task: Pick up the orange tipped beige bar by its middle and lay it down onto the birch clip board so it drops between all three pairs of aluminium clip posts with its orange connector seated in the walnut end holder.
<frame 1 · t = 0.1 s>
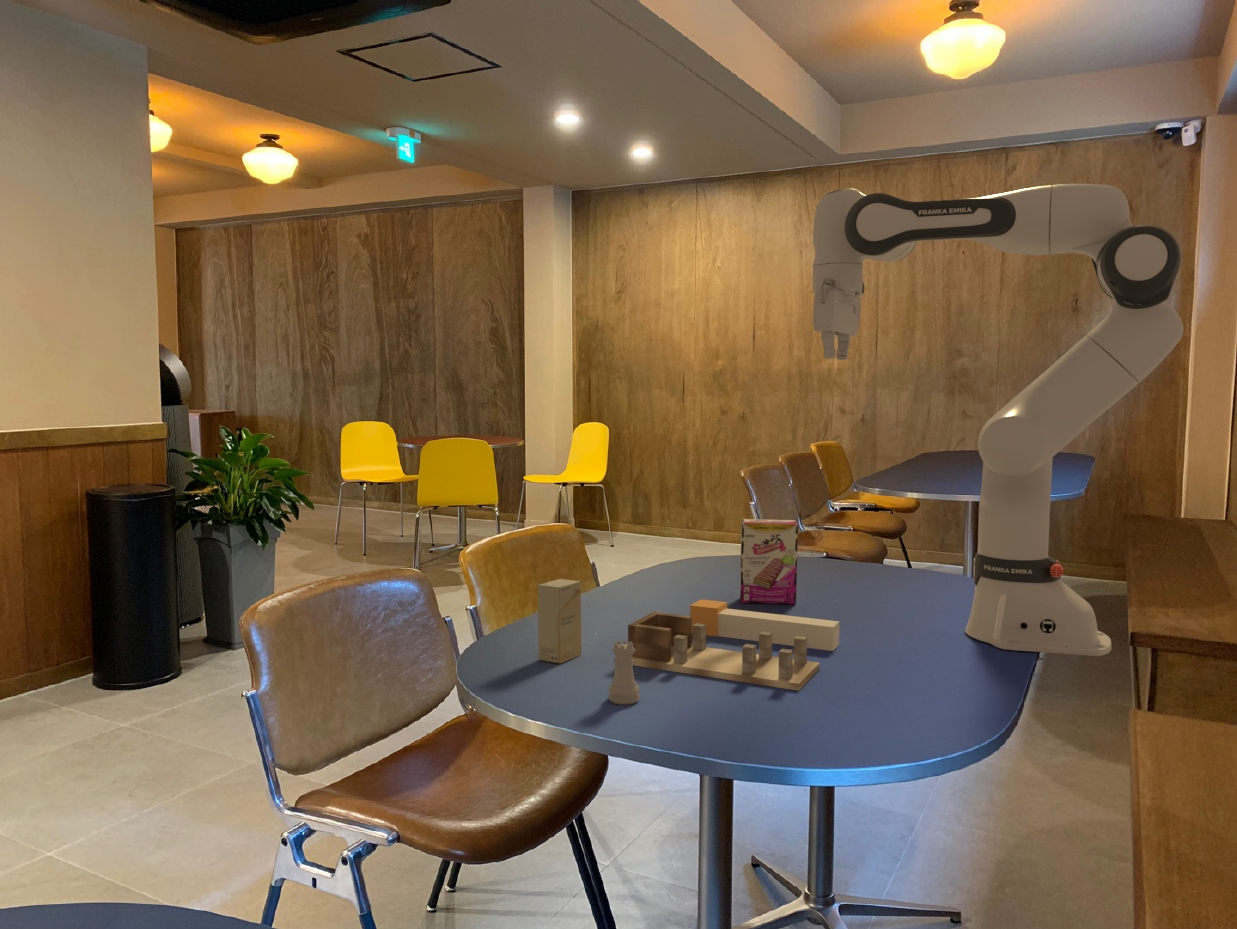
hand: (836, 359, 165), 48 cm above the table, tool pointing down, fingers open, 8 cm apart
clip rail: (741, 669, 138), on the table
skincare box: (560, 658, 144), on the table
orange tipped beige bar: (777, 640, 154), on the table
candy bar box: (768, 602, 181), on the table
rook chess piece: (623, 701, 125), on the table
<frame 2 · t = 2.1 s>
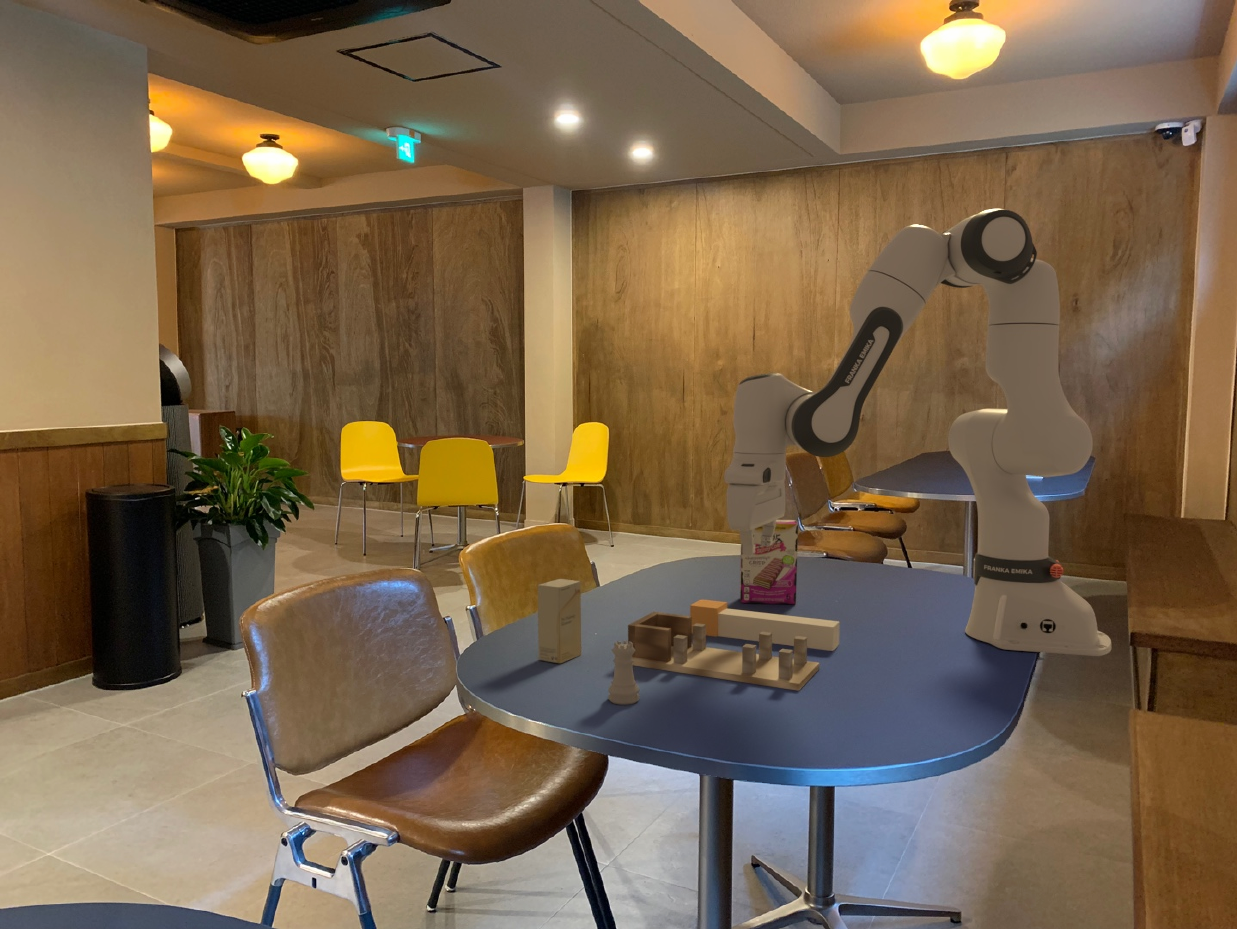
hand: (757, 550, 154), 15 cm above the table, tool pointing down, fingers open, 8 cm apart
nothing on the table moved.
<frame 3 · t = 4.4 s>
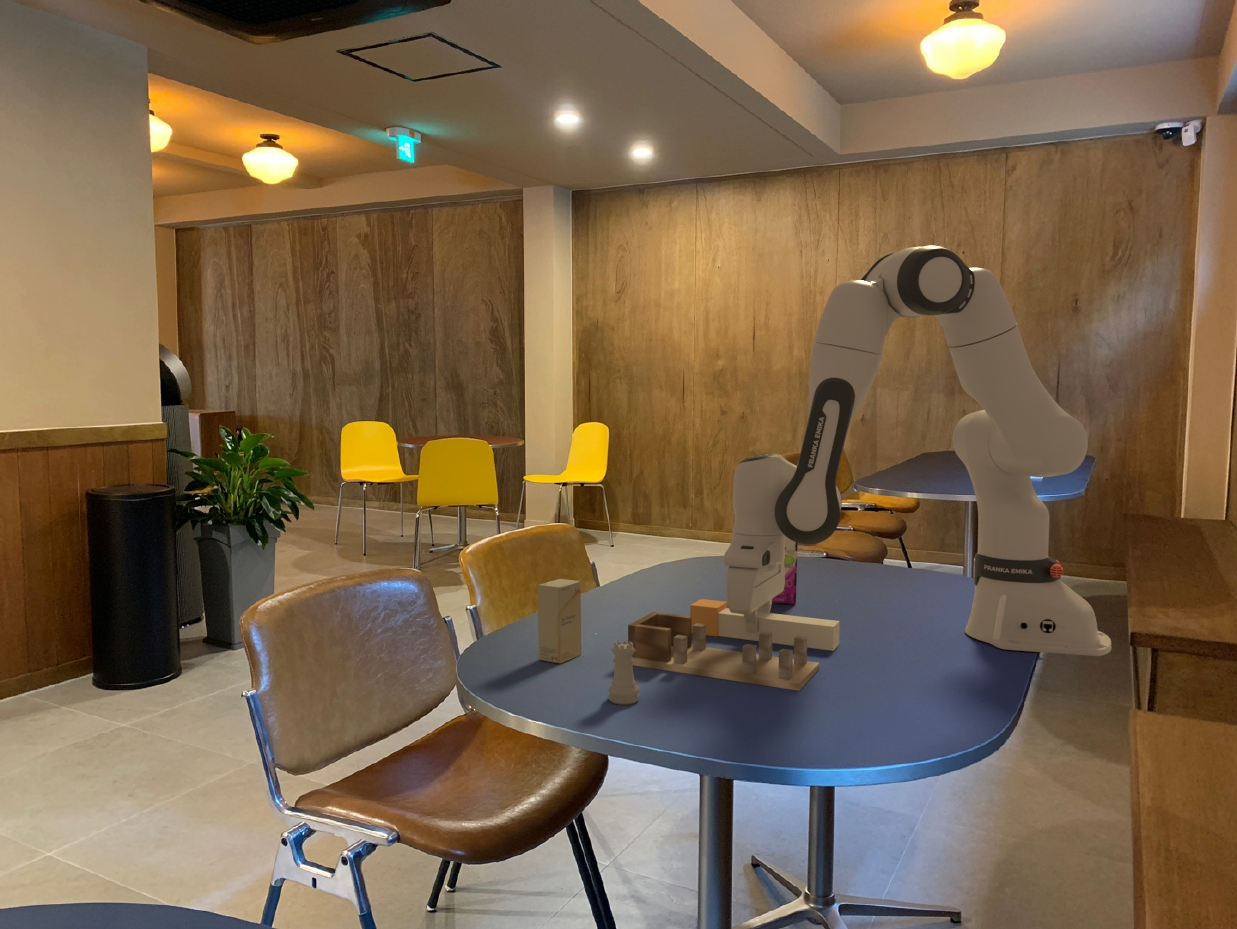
hand: (757, 628, 155), 2 cm above the table, tool pointing down, fingers closed on orange tipped beige bar, 4 cm apart
orange tipped beige bar: (777, 640, 154), on the table, touching gripper
everything else where it was.
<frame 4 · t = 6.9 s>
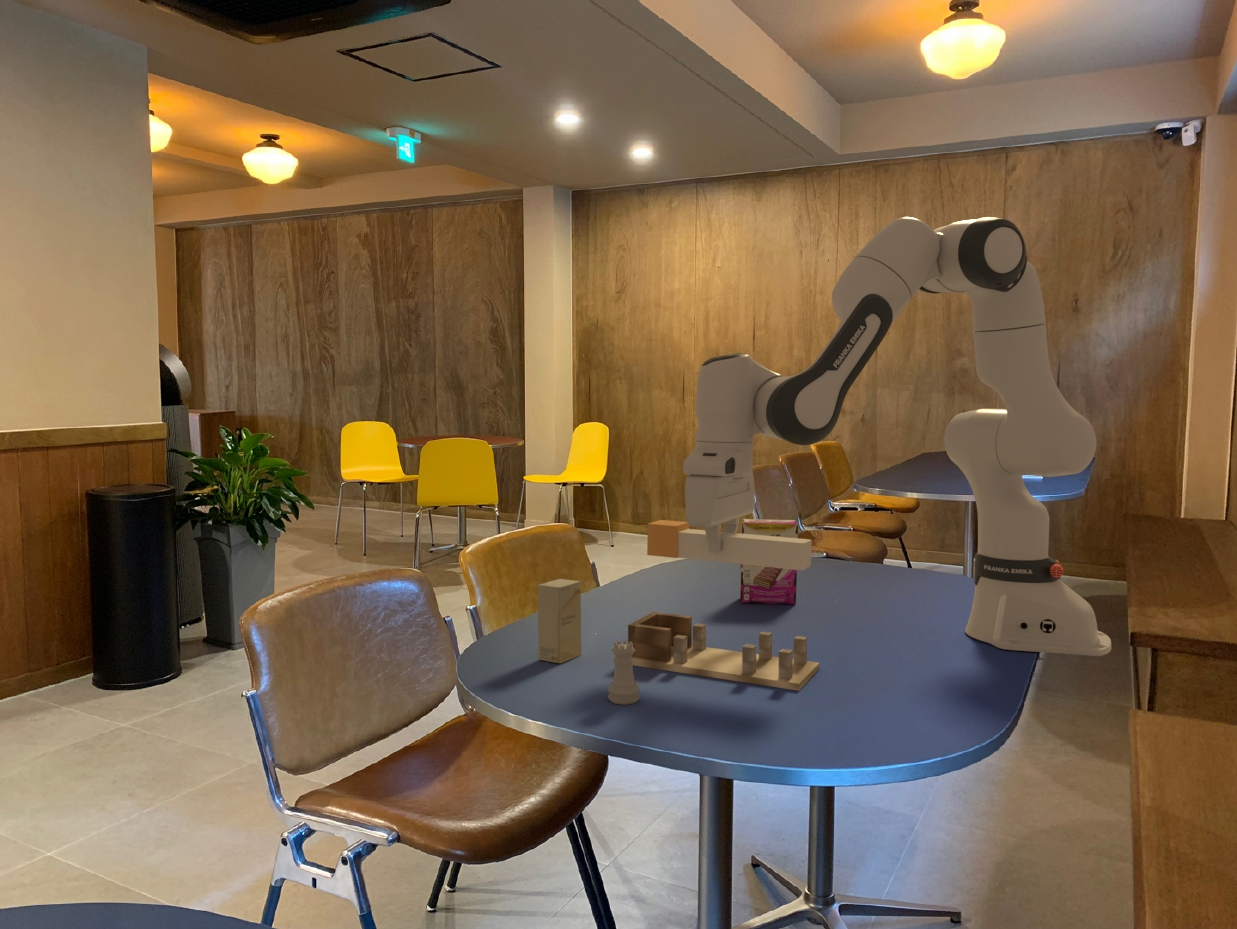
hand: (721, 549, 140), 18 cm above the table, tool pointing down, fingers closed on orange tipped beige bar, 4 cm apart
orange tipped beige bar: (742, 561, 138), point 16 cm above the table, touching gripper
everything else where it was.
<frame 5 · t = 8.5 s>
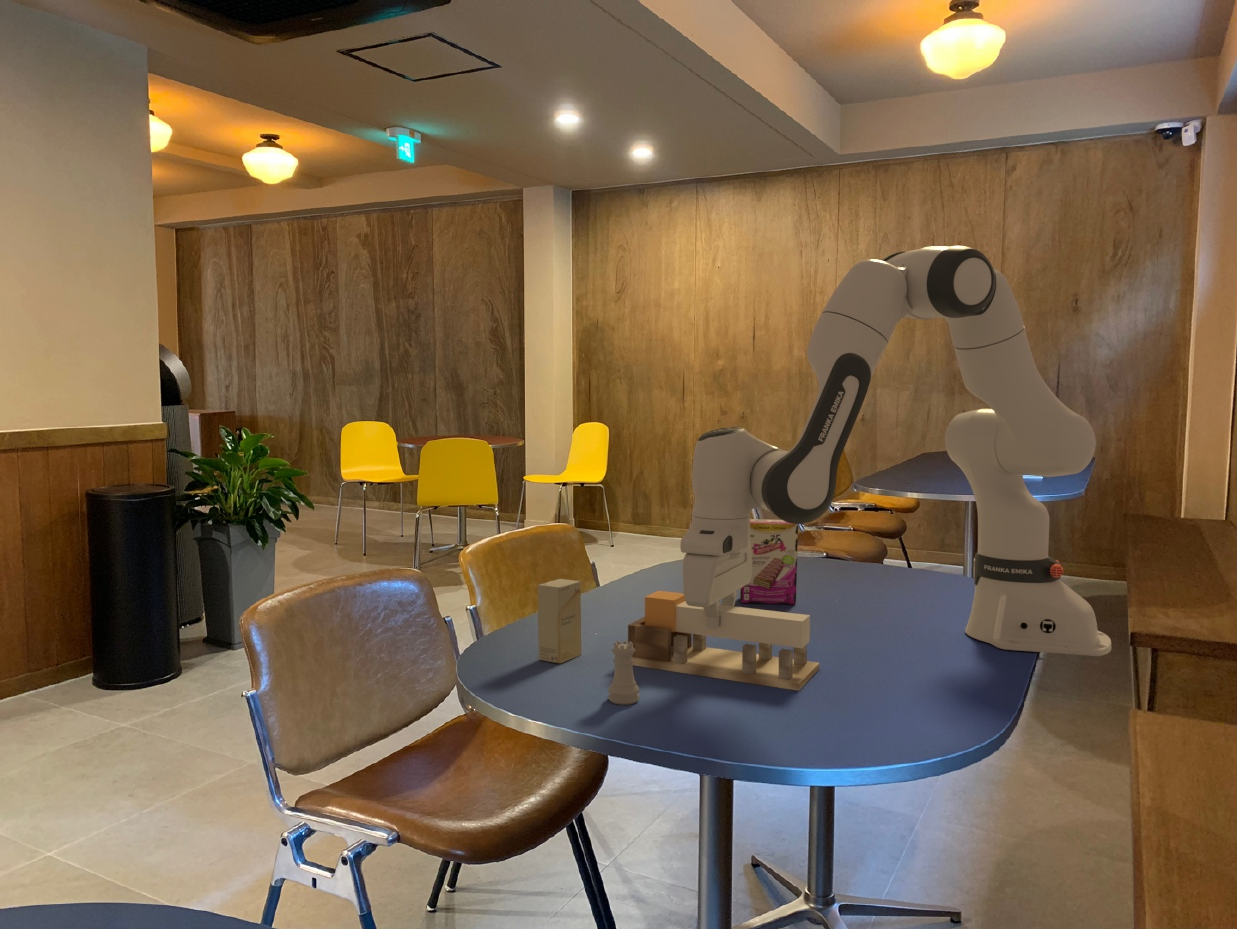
hand: (719, 623, 139), 7 cm above the table, tool pointing down, fingers closed on orange tipped beige bar, 4 cm apart
orange tipped beige bar: (741, 636, 137), point 5 cm above the table, touching gripper
everything else where it was.
when the fingers open (5 cm above the table, at t = 9.6 s): orange tipped beige bar drops 2 cm, resting on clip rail.
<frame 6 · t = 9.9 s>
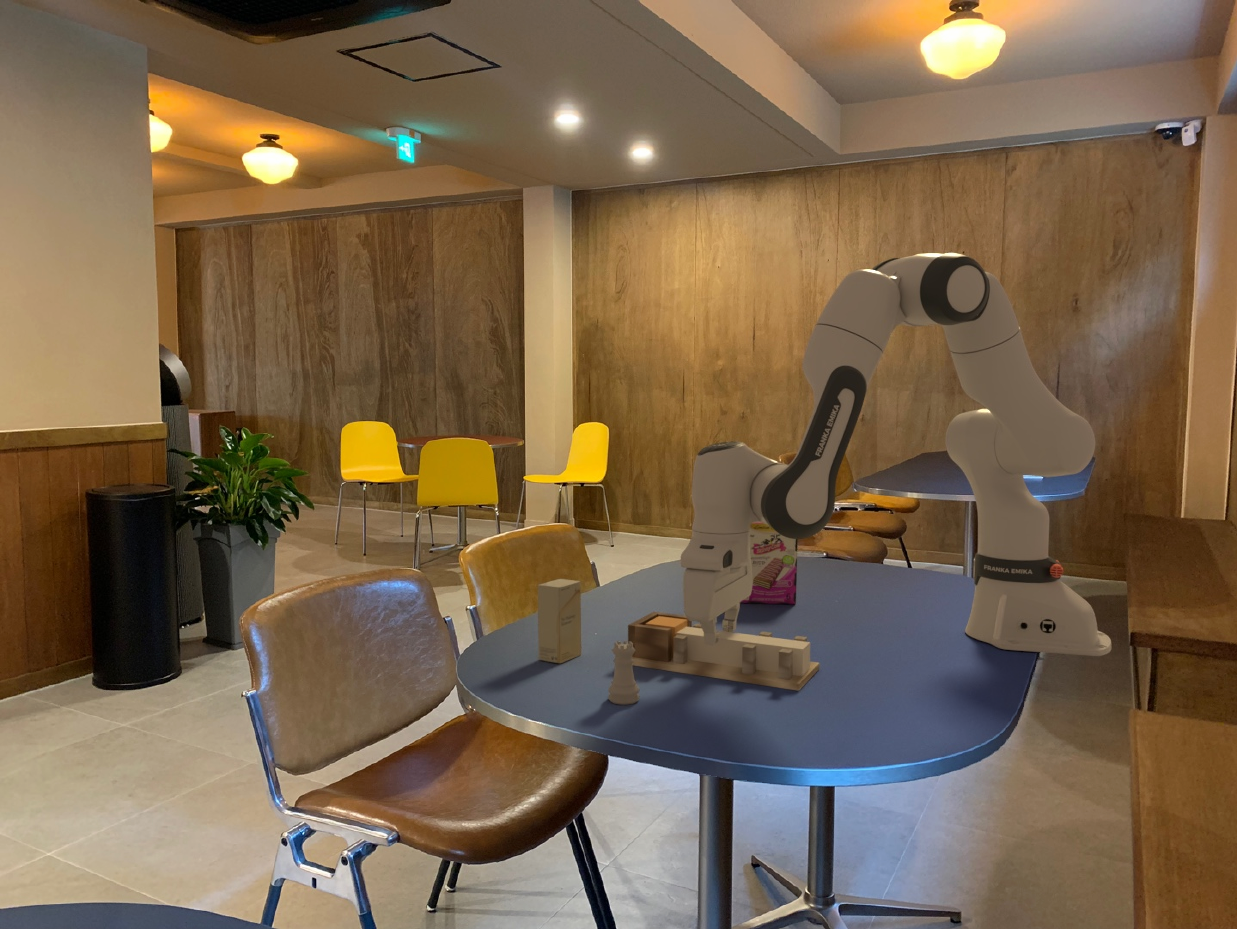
hand: (720, 637, 139), 5 cm above the table, tool pointing down, fingers open, 6 cm apart
orange tipped beige bar: (741, 663, 138), point 1 cm above the table, touching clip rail
everything else where it was.
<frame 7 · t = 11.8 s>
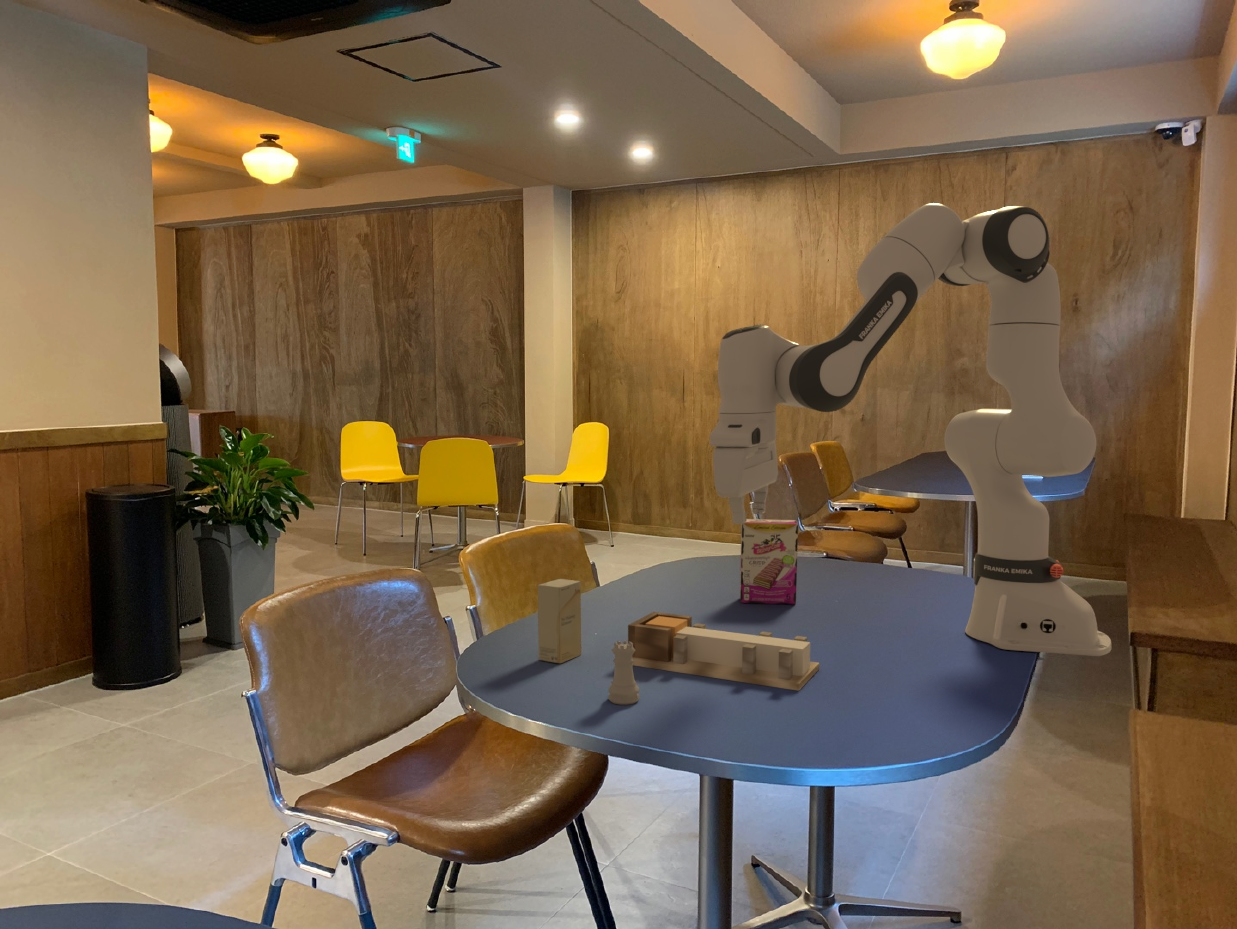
hand: (749, 518, 142), 22 cm above the table, tool pointing down, fingers open, 8 cm apart
nothing on the table moved.
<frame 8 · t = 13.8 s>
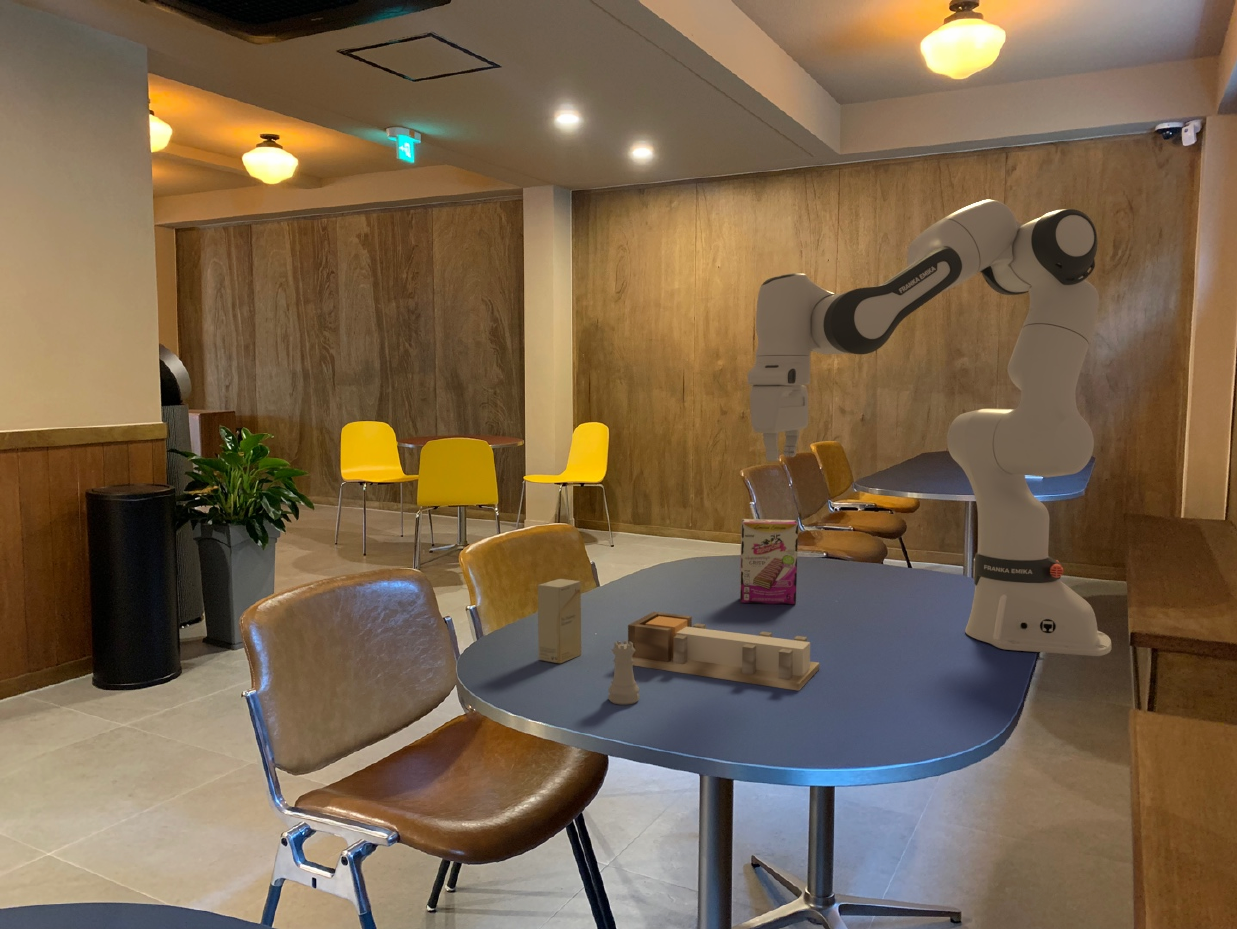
hand: (781, 458, 149), 31 cm above the table, tool pointing down, fingers open, 8 cm apart
nothing on the table moved.
at the end: orange tipped beige bar 0.0 cm off-centre on the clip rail, point 1.0 cm above the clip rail's base; orange tipped beige bar tilted 0°; the gripper is holding nothing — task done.
